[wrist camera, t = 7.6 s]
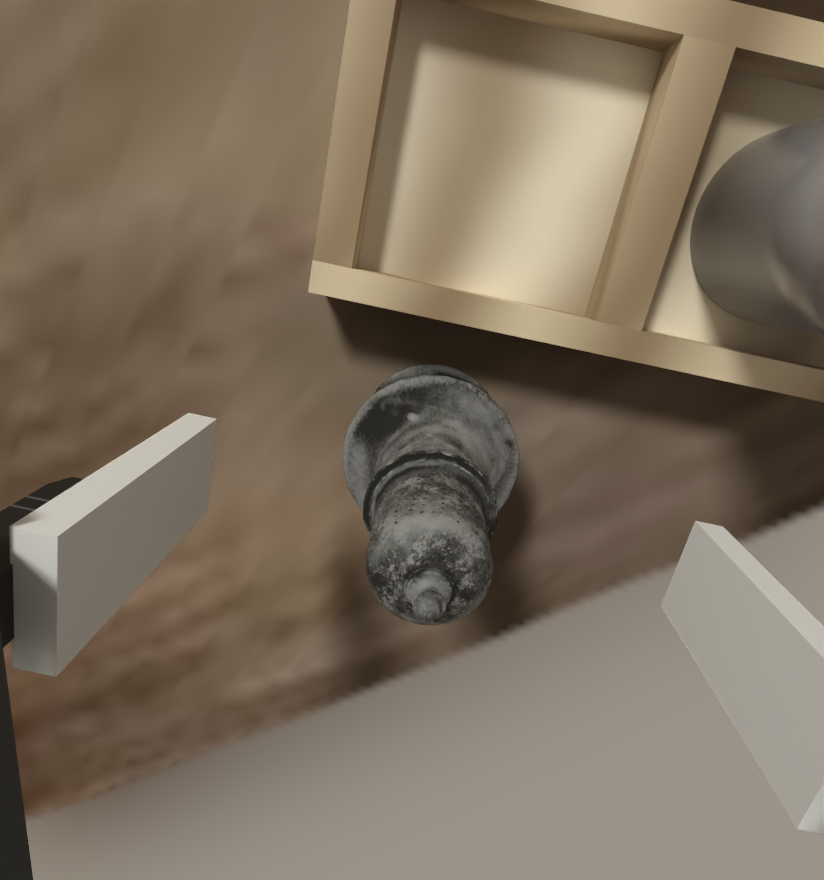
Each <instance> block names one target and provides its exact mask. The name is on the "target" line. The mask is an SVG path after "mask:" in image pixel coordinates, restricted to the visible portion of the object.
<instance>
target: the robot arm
mask: <svg viewBox="0 0 824 880" xmlns="http://www.w3.org/2000/svg"><path fill="white" fill-rule="evenodd" d="M216 422H217V419H215V418H210V417H205V416H201V415H196V414H191V413H188V414H186V415H184V416H183V417H181V418H180V419H178V420H177V421H175V422H173V423H172V424H170V425H169V426H167V427H165V428H164V429H162V430H161V431H159V432H158V433H156V434H154V435H153V436H151V437H150V438H148V439H146V440H145V441H143V442H142V443H140V444H139V445H137V446H135V447H134V448H132V449H131V450H129V451H128V452H126V453H124V454H123V455H121V456H120V457H118V458H116V459H115V460H113V461H112V462H110V463H109V464H107V465H105V466H104V467H102V468H101V469H99V470H98V471H96V472H94V473H93V474H91V475H90V476H88V477H86V478H85V479H80V478H75V477H70V478H67V479H63V480H60V481H56V482H53V483H49V484H47V485H45V486H43V487H41V488H40V489H38V490H36V491H35V492H33V493H31V494H29V496H28V497H24V498H23V499H21V500H19V501H18V502H16V503H14V505H13V507H12V506H9V507H7V508H6V509H4V510H2V511H1V512H0V880H33V876H32V868H31V861H30V854H29V845H28V837H27V831H26V822H25V814H24V807H23V799H22V791H21V784H20V776H19V768H18V761H17V753H16V745H15V738H14V730H13V722H12V715H11V707H10V699H9V692H8V684H7V676H6V669H5V661H4V653H3V647H4V646H5V645H7V644H8V643H9V642H10V641H11V640H12V668H16V669H21V670H26V671H31V672H35V673H40V674H45V675H50V676H55V677H57V676H58V675H59V673H60V672H61V671H62V670H63V669H64V668H65V667H66V666H67V665H68V664H69V662H70V661H71V660H72V659H73V658H74V657H75V656H76V655H77V654H78V653H79V651H80V650H81V649H82V648H83V647H84V646H85V645H86V644H87V643H88V642H89V640H90V639H91V638H92V637H93V636H94V635H95V634H96V633H97V632H98V631H99V629H100V628H101V627H102V626H103V625H104V624H105V623H106V622H107V621H108V620H109V619H110V617H111V616H112V615H113V614H114V613H115V612H116V611H117V610H118V609H119V608H120V606H121V605H122V604H123V603H124V602H125V601H126V600H127V599H128V598H129V597H130V595H131V594H132V593H133V592H134V591H135V590H136V589H137V588H138V587H139V586H140V584H141V583H142V582H143V581H144V580H145V579H146V578H147V577H148V576H149V575H150V573H151V572H152V571H153V570H154V569H155V568H156V567H157V566H158V565H159V564H160V562H161V561H162V560H163V559H164V558H165V557H166V556H167V555H168V554H169V553H170V552H171V550H172V549H173V548H174V547H175V546H176V545H177V544H178V543H179V542H180V541H181V539H182V538H183V537H184V536H185V535H186V534H187V533H188V532H189V531H190V530H191V528H192V527H193V526H194V525H195V524H196V523H197V522H198V521H199V520H200V519H201V517H202V516H203V515H204V514H205V513H206V512H207V511H208V501H209V491H210V481H211V471H212V461H213V451H214V441H215V432H216ZM661 608H662V609H663V611H664V613H665V614H666V616H667V617H668V619H669V621H670V622H671V624H672V626H673V627H674V629H675V631H676V632H677V634H678V635H679V637H680V639H681V640H682V642H683V643H684V645H685V647H686V649H687V650H688V652H689V653H690V655H691V657H692V658H693V660H694V662H695V663H696V665H697V666H698V668H699V670H700V671H701V673H702V675H703V676H704V678H705V680H706V681H707V683H708V684H709V686H710V688H711V689H712V691H713V693H714V694H715V696H716V698H717V699H718V701H719V703H720V704H721V706H722V707H723V709H724V711H725V712H726V714H727V716H728V717H729V719H730V720H731V722H732V724H733V725H734V727H735V729H736V730H737V732H738V734H739V735H740V737H741V739H742V740H743V742H744V743H745V745H746V747H747V748H748V750H749V751H750V753H751V755H752V757H753V758H754V760H755V762H756V763H757V765H758V766H759V768H760V770H761V771H762V773H763V774H764V776H765V778H766V780H767V781H768V783H769V784H770V786H771V788H772V789H773V791H774V793H775V794H776V796H777V797H778V799H779V801H780V802H781V804H782V806H783V807H784V809H785V811H786V812H787V814H788V816H789V817H790V819H791V820H792V822H793V824H794V825H795V827H796V828H797V829H800V830H804V831H810V832H814V833H819V834H824V626H823V625H822V624H821V623H820V622H819V621H818V620H817V619H816V618H815V617H814V616H813V615H812V614H811V613H810V612H809V611H808V610H807V609H806V608H805V607H804V606H803V605H802V604H801V603H800V602H799V601H798V600H797V599H796V598H795V597H794V596H793V595H792V594H791V593H789V591H788V590H787V589H786V588H785V587H784V586H782V585H781V584H780V582H778V581H777V580H776V579H775V578H774V577H773V576H772V575H771V574H770V573H769V572H768V571H767V570H766V569H765V568H764V567H763V566H762V565H761V564H760V563H759V562H758V561H757V560H756V559H755V558H754V557H753V556H752V555H751V554H750V553H749V552H748V551H747V550H746V549H745V548H744V547H743V546H742V545H741V544H740V543H739V542H738V541H737V540H736V539H735V538H734V537H733V536H732V535H731V534H730V533H729V532H728V531H727V530H726V529H725V528H724V527H722V526H717V525H713V524H708V523H703V522H699V521H695V523H694V525H693V528H692V530H691V533H690V535H689V538H688V540H687V543H686V545H685V548H684V550H683V553H682V555H681V557H680V560H679V562H678V565H677V567H676V570H675V572H674V575H673V577H672V580H671V582H670V585H669V587H668V590H667V592H666V594H665V597H664V599H663V602H662V604H661Z"/></svg>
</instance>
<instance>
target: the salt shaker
mask: <svg viewBox="0 0 824 880" xmlns="http://www.w3.org/2000/svg"><path fill="white" fill-rule="evenodd" d="M518 465H519V450H518V445H517V439H516V434H515V432H514V430H513V428H512V426H511V424H510V422H509V420H508V418H507V416H506V414H505V412H504V411H503V410H502V409H501V408H500V407H499V406H498V405H497V403H496V402H495V401H494V400H493V399H492V398H491V397H490V396H489V394H488V393H487V391H486V390H485V389H484V388H483V387H482V386H481V385H480V384H479V383H478V381H477V380H476V379H474V378H472V377H471V376H469V375H468V374H466V373H465V372H463V371H462V370H459V369H456V368H453V367H450V366H446V365H443V364H421V365H417V366H412V367H407V368H405V369H403V370H401V371H399V372H398V373H396V374H394V375H392V376H390V377H389V378H388V379H387V380H386V381H385V382H384V383H383V384H382V385H380V386H379V387H378V389H377V390H376V392H375V393H374V395H373V396H372V397H371V398H370V399H369V400H368V401H367V402H366V403H364V404H363V405H362V406H361V408H360V409H359V411H358V413H357V414H356V416H355V417H354V419H353V421H352V422H351V424H350V425H349V428H348V432H347V435H346V439H345V442H344V445H343V471H344V474H345V478H346V482H347V485H348V489H349V491H350V492H351V494H352V496H353V497H354V499H355V501H356V502H357V504H358V506H359V507H360V509H361V510H362V511H363V519H364V522H365V526H366V529H367V533H368V534H369V536H370V540H369V545H368V550H367V554H366V573H367V577H368V581H369V584H370V587H371V591H372V592H373V594H374V595H375V597H376V598H377V600H378V602H379V603H380V604H381V605H382V606H384V607H385V608H386V609H387V610H388V611H389V612H390V613H392V614H394V615H396V616H397V617H399V618H401V619H403V620H406V621H409V622H413V623H416V624H420V625H440V624H446V623H450V622H453V621H455V620H458V619H460V618H463V617H465V616H466V615H468V614H469V613H470V612H472V611H473V610H475V609H476V608H477V607H478V606H479V604H480V603H481V602H482V601H483V600H484V598H485V597H486V595H487V592H488V590H489V588H490V585H491V582H492V577H493V567H494V561H493V556H492V551H491V546H490V541H489V540H490V539H491V536H492V534H493V532H494V529H495V527H496V523H497V513H498V512H499V510H500V509H501V508H502V506H503V505H504V504H505V502H506V501H507V500H508V499H509V497H510V494H511V492H512V489H513V487H514V484H515V482H516V479H517V475H518Z"/></svg>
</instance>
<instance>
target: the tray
mask: <svg viewBox="0 0 824 880" xmlns="http://www.w3.org/2000/svg"><path fill="white" fill-rule="evenodd" d="M821 115H824V23H823V22H819V21H815V20H811V19H807V18H802V17H798V16H794V15H790V14H785V13H781V12H777V11H773V10H769V9H764V8H760V7H756V6H752V5H748V4H743V3H739V2H735V1H731V0H350V5H349V12H348V19H347V26H346V33H345V40H344V47H343V53H342V60H341V67H340V74H339V81H338V88H337V95H336V102H335V109H334V116H333V123H332V130H331V137H330V144H329V151H328V158H327V165H326V171H325V178H324V185H323V192H322V199H321V206H320V213H319V220H318V227H317V234H316V241H315V248H314V255H313V262H312V269H311V276H310V283H309V290H308V292H311V293H315V294H320V295H325V296H329V297H334V298H339V299H343V300H348V301H353V302H357V303H362V304H367V305H371V306H376V307H381V308H385V309H390V310H395V311H399V312H404V313H409V314H413V315H418V316H423V317H427V318H432V319H437V320H441V321H446V322H451V323H455V324H460V325H465V326H469V327H474V328H479V329H483V330H488V331H493V332H497V333H502V334H507V335H511V336H516V337H521V338H525V339H530V340H535V341H539V342H544V343H549V344H553V345H558V346H563V347H567V348H572V349H577V350H581V351H586V352H591V353H595V354H600V355H605V356H609V357H614V358H619V359H623V360H628V361H633V362H637V363H642V364H647V365H651V366H656V367H661V368H665V369H670V370H675V371H679V372H684V373H689V374H693V375H698V376H703V377H707V378H712V379H717V380H721V381H726V382H731V383H735V384H740V385H745V386H749V387H754V388H759V389H763V390H768V391H773V392H777V393H782V394H787V395H791V396H796V397H801V398H805V399H810V400H815V401H819V402H824V338H822V337H817V336H813V335H809V334H804V333H800V332H795V331H791V330H787V329H782V328H778V327H774V326H769V325H765V324H760V323H756V322H752V321H747V320H744V319H741V318H737V317H735V316H733V315H731V314H729V313H727V312H725V311H724V310H722V309H721V308H719V307H718V306H717V305H716V304H715V303H714V302H712V301H711V300H710V298H709V297H708V296H707V295H706V294H705V292H704V291H703V289H702V288H701V286H700V284H699V282H698V280H697V278H696V275H695V273H694V270H693V266H692V262H691V255H690V233H691V226H692V221H693V217H694V214H695V210H696V208H697V205H698V203H699V200H700V198H701V196H702V194H703V192H704V190H705V188H706V187H707V185H708V183H709V182H710V181H711V179H712V178H713V176H714V175H715V173H716V172H717V171H718V170H719V169H720V168H721V167H722V165H723V164H724V163H725V162H726V161H727V160H728V159H729V158H731V157H732V156H733V155H734V154H735V153H736V152H738V151H739V150H740V149H742V148H743V147H744V146H746V145H747V144H749V143H751V142H753V141H754V140H756V139H758V138H760V137H762V136H765V135H767V134H769V133H772V132H775V131H778V130H781V129H783V128H786V127H789V126H792V125H795V124H798V123H801V122H804V121H807V120H810V119H813V118H816V117H818V116H821Z"/></svg>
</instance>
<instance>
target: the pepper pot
mask: <svg viewBox="0 0 824 880" xmlns="http://www.w3.org/2000/svg"><path fill="white" fill-rule="evenodd" d="M690 255H691V262H692V266H693V270H694V273H695V275H696V278H697V280H698V282H699V284H700V286H701V288H702V289H703V291H704V292H705V294H706V295H707V296H708V297H709V298H710V300H711V301H712V302H714V303H715V304H716V305H717V306H718V307H719V308H721V309H722V310H724V311H725V312H727V313H729V314H731V315H733V316H735V317H737V318H741V319H744V320H747V321H752V322H756V323H760V324H765V325H769V326H774V327H778V328H782V329H787V330H791V331H795V332H800V333H804V334H809V335H813V336H817V337H822V338H824V115H821V116H818V117H816V118H813V119H810V120H807V121H804V122H801V123H798V124H795V125H792V126H789V127H786V128H783V129H781V130H778V131H775V132H772V133H769V134H767V135H765V136H762V137H760V138H758V139H756V140H754V141H753V142H751V143H749V144H747V145H746V146H744V147H743V148H742V149H740V150H739V151H738V152H736V153H735V154H734V155H733V156H732V157H731V158H729V159H728V160H727V161H726V162H725V163H724V164H723V165H722V167H721V168H720V169H719V170H718V171H717V172H716V173H715V175H714V176H713V178H712V179H711V181H710V182H709V183H708V185H707V187H706V188H705V190H704V192H703V194H702V196H701V198H700V200H699V203H698V205H697V208H696V210H695V214H694V217H693V221H692V226H691V233H690Z"/></svg>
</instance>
